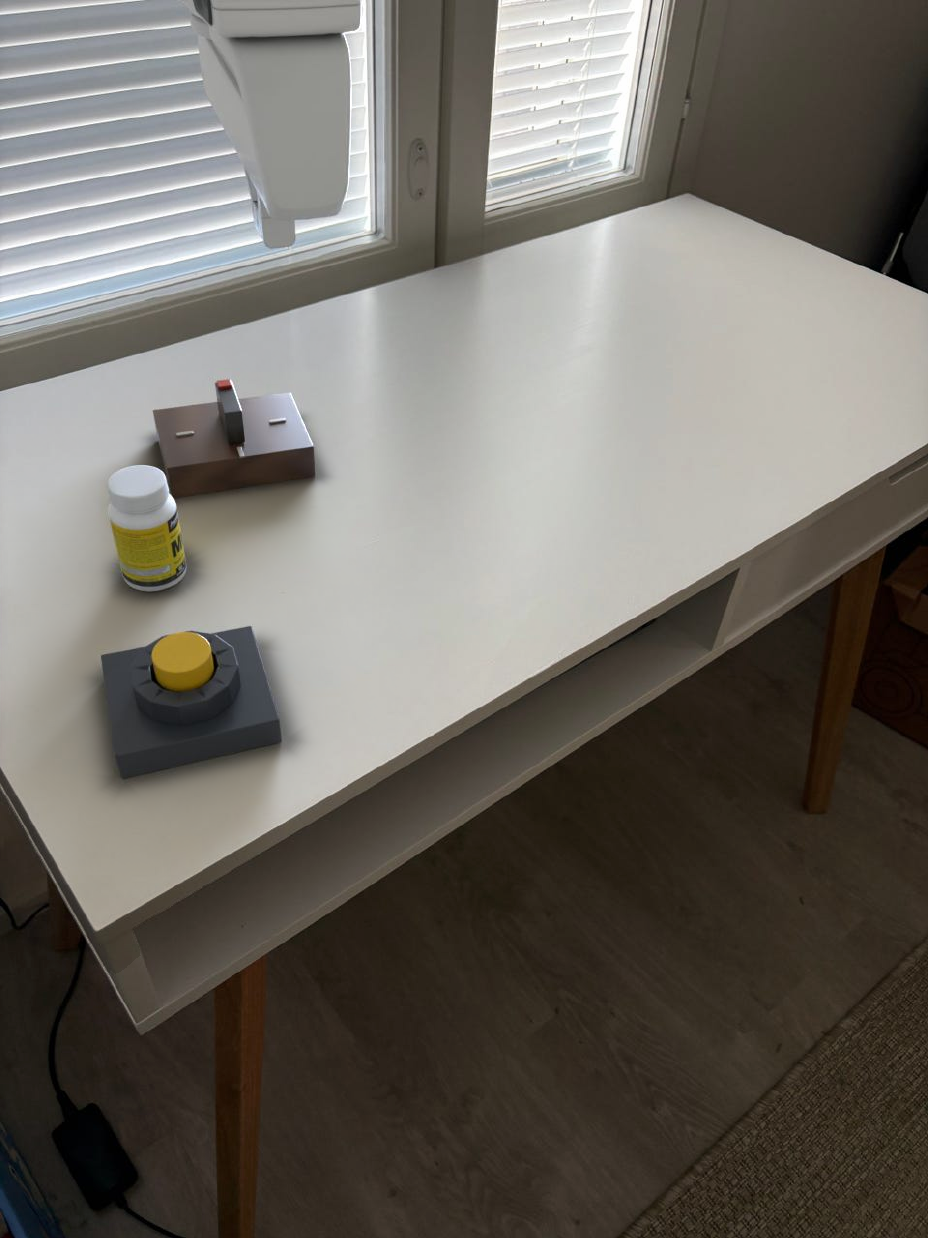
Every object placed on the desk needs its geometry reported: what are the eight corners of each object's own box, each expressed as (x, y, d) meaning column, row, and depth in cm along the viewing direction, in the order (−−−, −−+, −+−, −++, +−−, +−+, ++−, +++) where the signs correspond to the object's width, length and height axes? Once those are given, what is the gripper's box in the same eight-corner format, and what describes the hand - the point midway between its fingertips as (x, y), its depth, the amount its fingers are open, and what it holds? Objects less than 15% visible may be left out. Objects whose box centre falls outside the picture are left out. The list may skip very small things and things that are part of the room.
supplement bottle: (190, 588, 75) (174, 496, 69) (124, 598, 74) (103, 505, 68) (183, 548, 78) (167, 457, 73) (120, 557, 77) (99, 465, 71)
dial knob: (245, 442, 84) (241, 408, 82) (228, 444, 84) (224, 410, 81) (235, 410, 87) (231, 377, 85) (218, 413, 87) (214, 379, 85)
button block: (120, 779, 62) (108, 737, 59) (106, 677, 68) (95, 635, 65) (282, 742, 65) (277, 700, 62) (254, 647, 71) (249, 605, 68)
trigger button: (159, 697, 62) (155, 678, 61) (152, 657, 65) (147, 638, 63) (218, 685, 63) (215, 665, 62) (208, 646, 66) (205, 626, 65)
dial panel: (172, 499, 83) (166, 467, 81) (157, 438, 89) (151, 407, 87) (315, 476, 86) (314, 445, 84) (291, 420, 92) (289, 389, 90)
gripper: (153, -92, 54) (190, 175, 63) (219, 2, 40) (253, 326, 49) (271, -93, 55) (289, 168, 65) (373, -4, 42) (378, 311, 51)
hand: (274, 237), depth 57 cm, fingers closed
